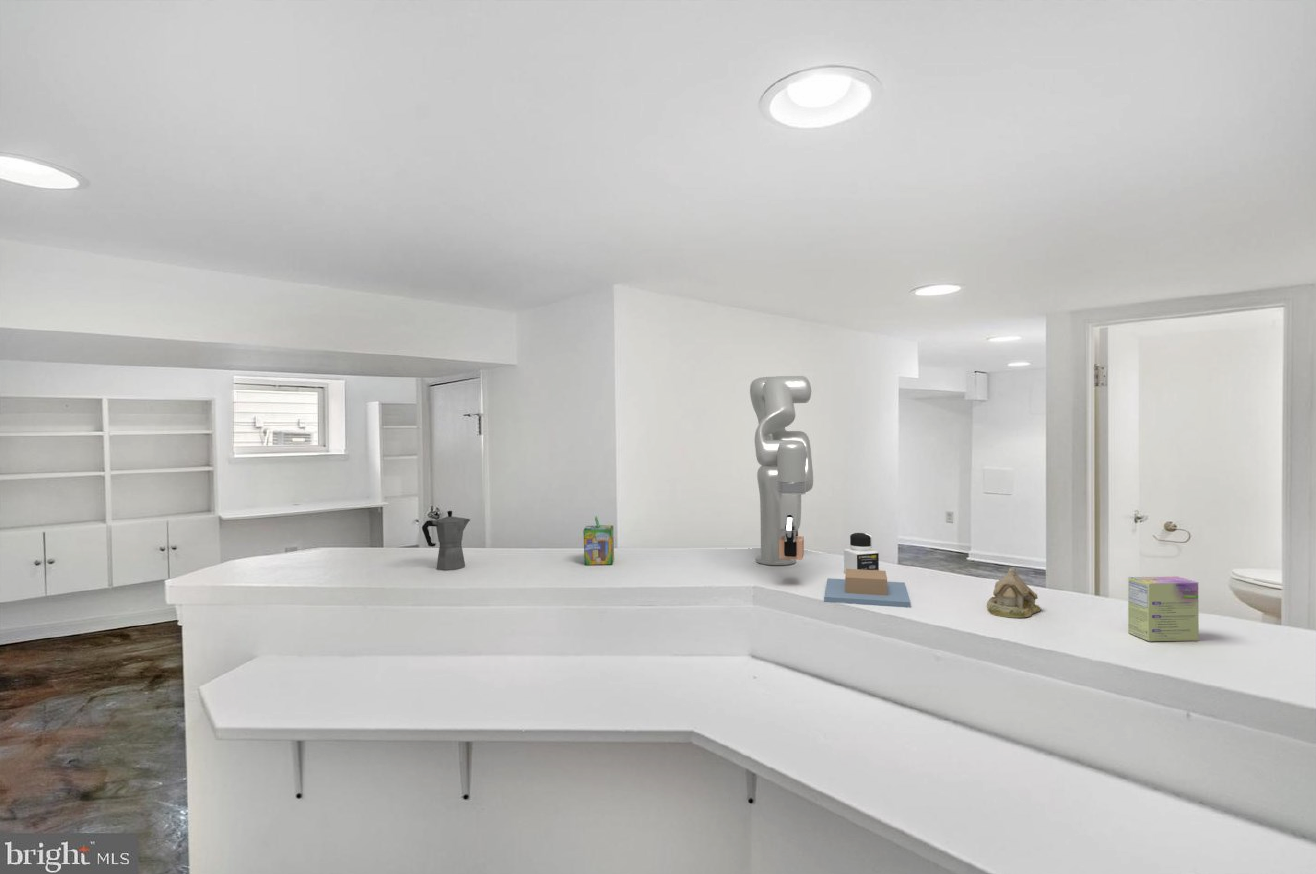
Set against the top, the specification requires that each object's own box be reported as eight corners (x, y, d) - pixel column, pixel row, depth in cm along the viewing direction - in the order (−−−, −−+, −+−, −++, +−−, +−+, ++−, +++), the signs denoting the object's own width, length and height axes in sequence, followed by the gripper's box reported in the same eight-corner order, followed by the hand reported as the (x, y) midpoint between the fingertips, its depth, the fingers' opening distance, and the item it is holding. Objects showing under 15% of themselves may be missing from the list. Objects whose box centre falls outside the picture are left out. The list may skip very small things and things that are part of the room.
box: (1175, 632, 135) (1175, 575, 134) (1199, 641, 129) (1199, 582, 129) (1126, 633, 134) (1126, 576, 134) (1148, 642, 129) (1148, 583, 128)
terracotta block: (781, 553, 181) (781, 535, 181) (803, 554, 180) (803, 536, 179) (779, 558, 176) (779, 540, 175) (801, 559, 174) (801, 541, 174)
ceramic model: (990, 600, 161) (989, 560, 160) (1042, 607, 154) (1042, 565, 154) (981, 614, 149) (981, 571, 149) (1037, 622, 143) (1037, 577, 142)
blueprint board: (827, 582, 180) (827, 563, 180) (904, 587, 174) (904, 567, 174) (824, 601, 161) (823, 580, 161) (910, 607, 155) (910, 585, 155)
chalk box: (612, 565, 206) (611, 518, 206) (583, 565, 206) (582, 519, 206) (615, 559, 215) (614, 514, 215) (587, 559, 215) (586, 515, 215)
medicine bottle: (857, 578, 184) (857, 536, 184) (843, 573, 191) (843, 532, 191) (879, 576, 186) (879, 534, 186) (865, 571, 193) (864, 531, 193)
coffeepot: (464, 562, 214) (463, 507, 213) (476, 566, 207) (475, 510, 206) (417, 569, 204) (416, 512, 204) (428, 574, 197) (427, 515, 196)
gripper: (781, 483, 186) (781, 545, 187) (773, 491, 169) (774, 560, 170) (807, 484, 184) (808, 547, 185) (803, 492, 167) (803, 561, 168)
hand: (791, 552), depth 178 cm, fingers closed on terracotta block, 6 cm apart
